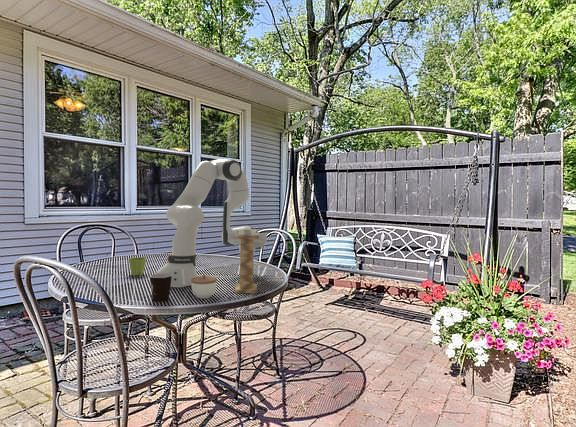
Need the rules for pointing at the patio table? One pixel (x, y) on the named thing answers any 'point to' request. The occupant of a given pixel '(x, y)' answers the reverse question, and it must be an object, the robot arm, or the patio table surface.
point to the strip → (247, 231)
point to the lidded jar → (203, 286)
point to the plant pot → (137, 266)
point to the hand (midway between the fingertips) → (247, 231)
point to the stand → (246, 264)
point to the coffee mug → (160, 286)
